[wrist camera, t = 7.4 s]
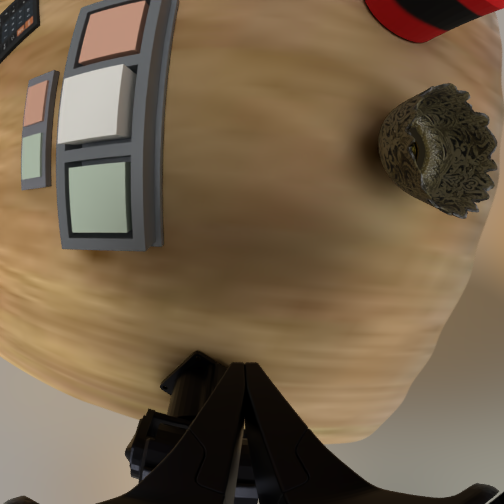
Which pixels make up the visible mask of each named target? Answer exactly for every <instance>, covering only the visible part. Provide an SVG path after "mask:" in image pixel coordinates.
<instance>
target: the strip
mask: <svg viewBox="0 0 504 504" xmlns="http://www.w3.org/2000/svg"><path fill="white" fill-rule="evenodd" d="M58 77H59V72H58V71H55V70H53V71H51V72H48V73H45V74H43V75H40V76H38V77H35V78H33V79H31V80H29V84H28V90H27V96H26V103H25V110H24V119H23V131H22V148H21V185H22V190H27V189H34V188H41V187H48V186H51V139H52V124H53V113H54V104H55V96H56V89H57V83H58Z"/></svg>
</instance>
